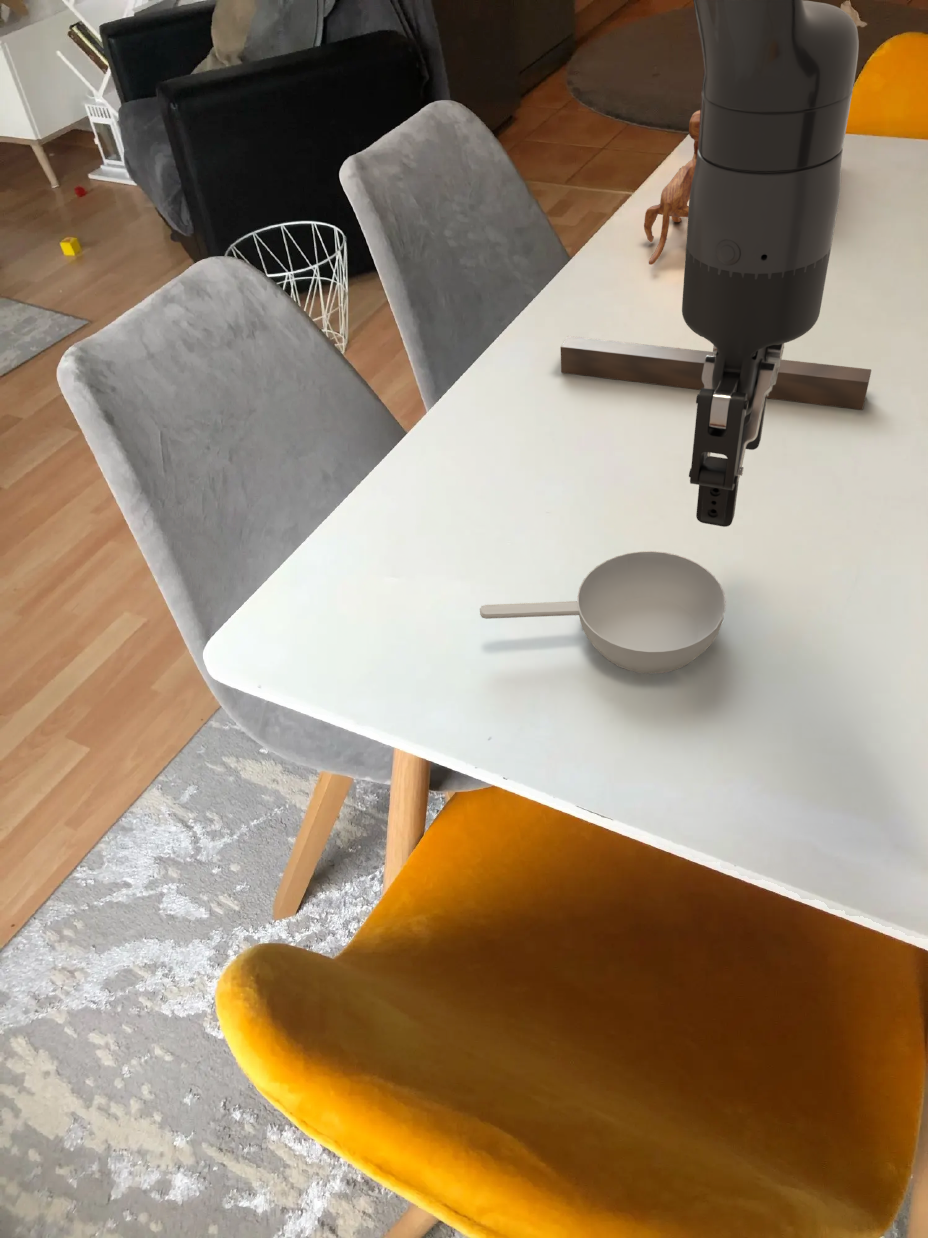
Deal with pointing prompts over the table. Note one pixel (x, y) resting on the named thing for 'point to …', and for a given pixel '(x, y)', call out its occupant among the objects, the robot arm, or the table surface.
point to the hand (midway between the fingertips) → (729, 481)
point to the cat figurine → (674, 195)
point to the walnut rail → (687, 369)
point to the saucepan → (640, 610)
